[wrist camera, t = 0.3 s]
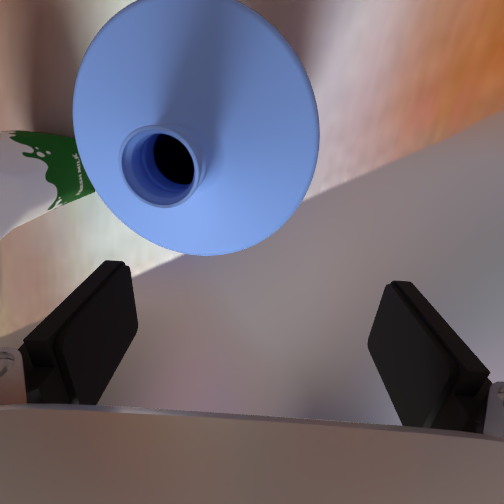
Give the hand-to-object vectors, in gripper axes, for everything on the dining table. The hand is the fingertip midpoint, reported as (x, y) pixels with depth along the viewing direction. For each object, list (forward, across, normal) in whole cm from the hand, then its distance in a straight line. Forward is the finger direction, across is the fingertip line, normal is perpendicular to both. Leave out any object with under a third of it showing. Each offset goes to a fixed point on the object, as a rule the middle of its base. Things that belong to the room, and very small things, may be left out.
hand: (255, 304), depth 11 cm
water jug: (+31, +4, -4) cm, 31 cm away
